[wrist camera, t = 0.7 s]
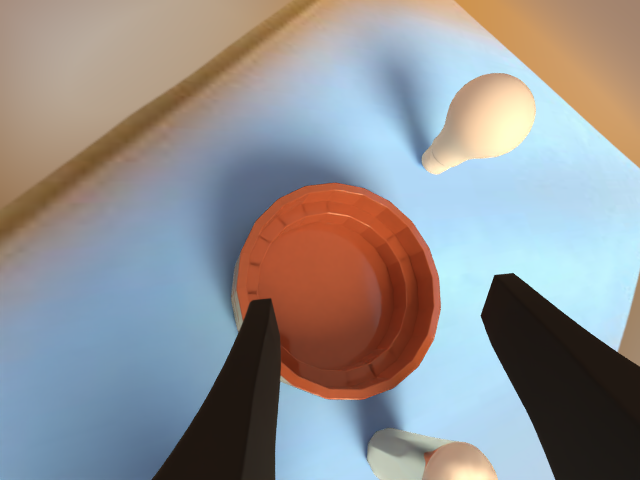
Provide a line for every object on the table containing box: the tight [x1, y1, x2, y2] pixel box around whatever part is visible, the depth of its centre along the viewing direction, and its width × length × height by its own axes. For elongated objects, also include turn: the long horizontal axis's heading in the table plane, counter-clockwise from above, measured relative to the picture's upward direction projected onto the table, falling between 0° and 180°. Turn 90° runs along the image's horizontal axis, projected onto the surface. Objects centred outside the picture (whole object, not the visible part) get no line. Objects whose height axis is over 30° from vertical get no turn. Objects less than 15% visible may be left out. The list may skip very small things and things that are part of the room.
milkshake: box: [367, 428, 498, 480], centre depth 21 cm, size 4×5×10 cm
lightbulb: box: [422, 73, 536, 174], centre depth 30 cm, size 6×6×11 cm
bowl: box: [231, 183, 441, 400], centre depth 26 cm, size 14×14×4 cm
